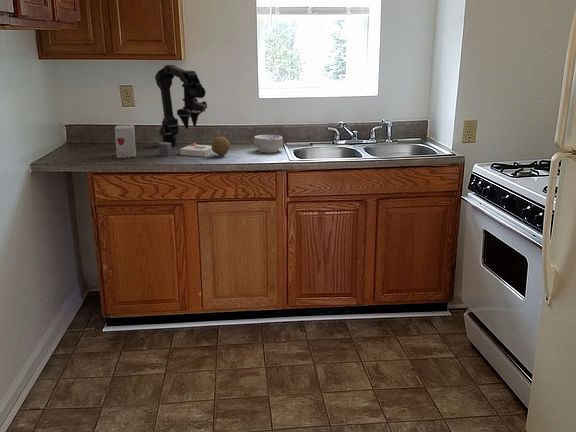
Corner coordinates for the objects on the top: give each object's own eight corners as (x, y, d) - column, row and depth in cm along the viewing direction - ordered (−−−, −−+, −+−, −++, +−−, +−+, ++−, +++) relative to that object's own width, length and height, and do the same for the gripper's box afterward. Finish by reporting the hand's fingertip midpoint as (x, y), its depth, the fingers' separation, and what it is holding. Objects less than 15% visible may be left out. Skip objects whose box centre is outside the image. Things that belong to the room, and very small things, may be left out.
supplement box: (116, 158, 273) (113, 127, 268) (118, 154, 281) (115, 125, 277) (135, 157, 275) (133, 127, 270) (136, 154, 283) (134, 124, 278)
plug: (159, 155, 280) (158, 143, 278) (163, 154, 284) (162, 141, 282) (168, 156, 278) (167, 143, 276) (172, 155, 282) (171, 142, 280)
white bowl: (284, 149, 300) (284, 134, 298) (281, 154, 286) (281, 139, 284) (256, 148, 302) (256, 133, 299) (251, 153, 287) (251, 138, 285)
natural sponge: (214, 158, 275) (213, 138, 272) (209, 155, 283) (209, 135, 280) (231, 157, 278) (231, 137, 275) (227, 154, 286) (226, 134, 283)
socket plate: (180, 154, 283) (179, 147, 282) (192, 149, 295) (192, 142, 294) (204, 156, 279) (204, 149, 278) (216, 151, 291) (216, 144, 290)
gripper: (196, 99, 270) (197, 131, 274) (211, 95, 287) (212, 125, 292) (175, 98, 272) (177, 129, 277) (192, 94, 290) (193, 124, 294)
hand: (190, 127), depth 285 cm, fingers open, 9 cm apart
